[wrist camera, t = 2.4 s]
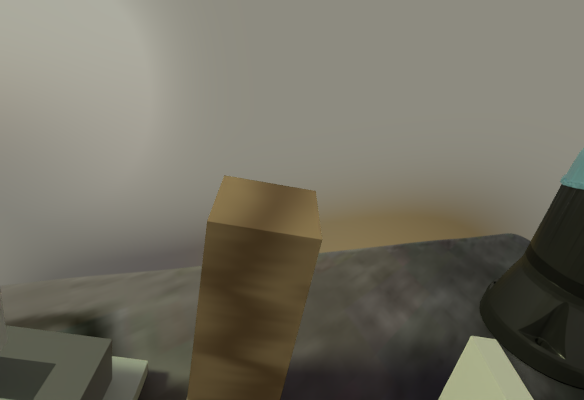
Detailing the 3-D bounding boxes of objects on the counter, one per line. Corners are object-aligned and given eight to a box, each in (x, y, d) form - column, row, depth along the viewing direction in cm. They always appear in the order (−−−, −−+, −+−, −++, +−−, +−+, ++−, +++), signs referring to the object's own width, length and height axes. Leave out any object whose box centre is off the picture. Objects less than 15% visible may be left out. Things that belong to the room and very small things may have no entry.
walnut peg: (270, 379, 34) (316, 190, 26) (267, 450, 29) (323, 240, 21) (199, 369, 34) (223, 174, 26) (181, 441, 28) (206, 221, 20)
